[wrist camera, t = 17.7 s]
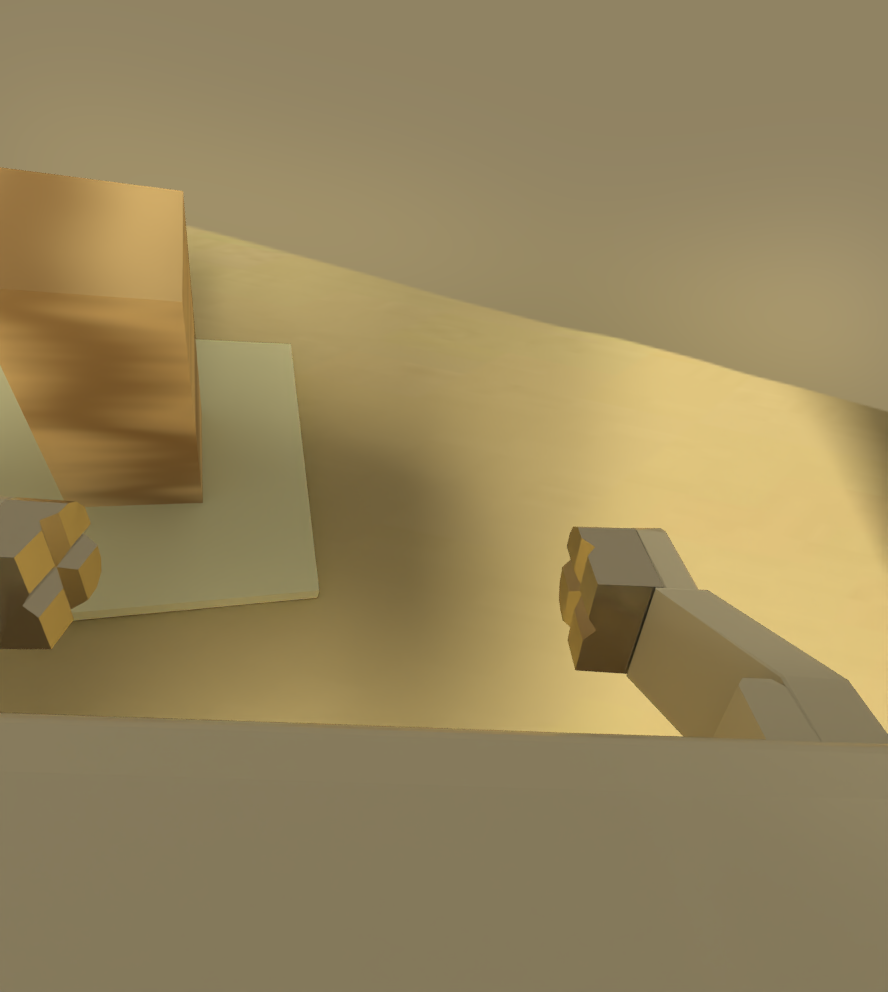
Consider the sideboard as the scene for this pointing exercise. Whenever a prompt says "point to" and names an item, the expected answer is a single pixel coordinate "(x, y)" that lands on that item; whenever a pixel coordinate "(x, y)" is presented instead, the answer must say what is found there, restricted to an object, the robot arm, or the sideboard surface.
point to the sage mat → (226, 498)
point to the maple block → (102, 336)
